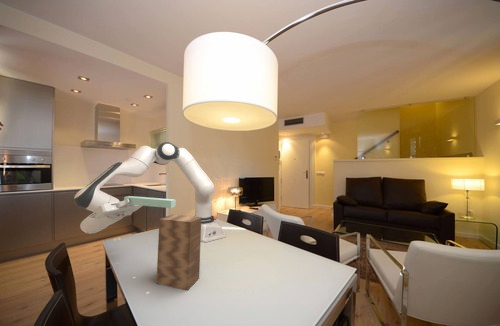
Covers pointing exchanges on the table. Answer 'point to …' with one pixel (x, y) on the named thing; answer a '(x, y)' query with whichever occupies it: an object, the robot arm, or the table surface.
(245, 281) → the table surface
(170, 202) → the mint green bar
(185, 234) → the walnut stand
